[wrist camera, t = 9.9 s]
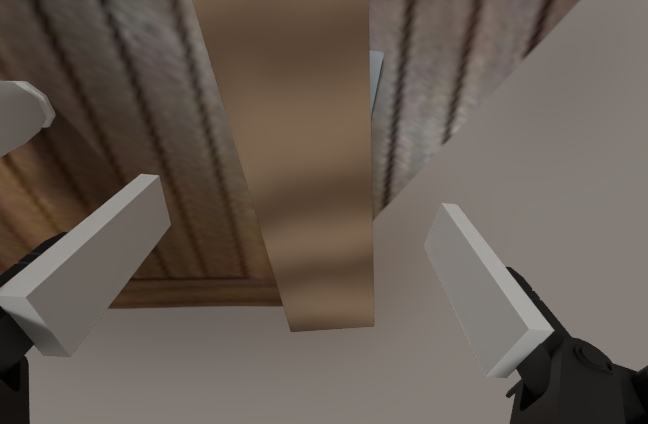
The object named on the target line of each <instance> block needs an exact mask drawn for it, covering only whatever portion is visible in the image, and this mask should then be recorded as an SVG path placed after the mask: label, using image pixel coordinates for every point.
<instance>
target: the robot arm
mask: <svg viewBox="0 0 648 424" xmlns="http://www.w3.org/2000/svg"><path fill="white" fill-rule="evenodd" d="M170 226H171V222H170V218H169V214H168V210H167V206H166V202H165V198H164V194H163V190H162V185H161V181H160V177H159V175H148V174H140V175H139V176H138V177H137V178H135V179H134V180H133V181H132V182H130V183H129V184H128V185H127V186H126V187H124V188H123V189H122V190H121V191H119V192H118V193H117V194H116V195H114V196H113V197H112V198H111V199H109V200H108V201H107V202H106V203H105V204H103V205H102V206H101V207H100V208H98V209H97V210H96V211H95V212H93V213H92V214H91V215H90V216H88V217H87V218H86V219H85V220H84V221H82V222H81V223H80V224H79V225H77V226H76V227H75V228H74V229H72V230H71V231H70V232H63V233H60V234H58V235H56V236H54V237H52V238H50V239H48V240H46V241H44V242H43V243H42V244H40V245H39V246H38V247H37V248H35V249H34V250H33V251H31V254H27V255H26V256H25V257H24V258H22V259H21V260H20V261H19V263H18V264H14V265H13V266H12V267H11V268H9V269H8V270H7V271H5V272H4V273H3V274H2V275H0V424H30V420H29V369H28V368H29V364H28V361H27V358H26V357H25V356H24V355H25V354H26V352H28V350H29V349H30V348H31V347H32V346H33V345H35V347H36V348H37V349H38V350H39V351H40V352H41V353H42V355H44V356H63V357H71V356H72V354H73V353H74V352H75V350H76V349H77V348H78V346H79V345H80V344H81V342H82V341H83V340H84V339H85V337H86V336H87V335H88V333H89V332H90V331H91V329H92V328H93V327H94V325H95V324H96V323H97V321H98V320H99V319H100V318H101V316H102V315H103V314H104V312H105V311H106V310H107V308H108V307H109V306H110V304H111V303H112V302H113V300H114V299H115V298H116V297H117V295H118V294H119V293H120V291H121V290H122V289H123V287H124V286H125V285H126V283H127V282H128V281H129V279H130V278H131V277H132V276H133V274H134V273H135V272H136V270H137V269H138V268H139V266H140V265H141V264H142V262H143V261H144V260H145V258H146V257H147V256H148V254H149V253H150V252H151V251H152V249H153V248H154V247H155V245H156V244H157V243H158V241H159V240H160V239H161V237H162V236H163V235H164V233H165V232H166V231H167V230H168V228H169V227H170ZM424 248H425V251H426V253H427V255H428V257H429V259H430V261H431V263H432V266H433V268H434V270H435V272H436V274H437V276H438V278H439V280H440V283H441V285H442V287H443V289H444V291H445V293H446V295H447V297H448V300H449V302H450V304H451V306H452V308H453V310H454V312H455V314H456V316H457V319H458V321H459V323H460V325H461V327H462V329H463V331H464V333H465V335H466V338H467V340H468V341H469V344H470V346H471V348H472V350H473V352H474V355H475V357H476V359H477V361H478V363H479V365H480V367H481V369H482V371H483V373H484V376H485V377H497V378H507V377H508V376H509V375H510V374H511V373H512V372H513V371H514V370H515V369H517V371H518V372H519V374H520V376H521V378H522V379H521V380H520V381H519V382H518V383H517V384H515V385H514V387H512V388H511V389H510V390H509V391H508V393H507V394H506V397H508V398H510V397H511V396H512V395H513V394H515V398H514V404H513V409H512V414H511V419H510V424H648V366H646V367H645V368H643V369H642V370H640V371H639V372H637V371H634V370H631V369H628V368H625V367H622V366H619V365H616V364H613V363H612V362H611V360H610V359H609V358H608V357H607V356H606V355H605V354H603V353H602V352H601V351H600V350H599V349H597V348H596V347H594V346H593V345H591V344H590V343H588V342H586V341H583V340H581V339H578V338H572V337H571V336H570V334H569V333H568V332H567V331H566V330H565V328H564V327H563V326H562V325H561V323H560V322H559V321H558V320H557V318H556V317H555V316H554V315H553V314H552V312H551V311H550V310H549V309H548V307H547V306H546V305H545V304H544V302H543V301H542V300H540V298H539V296H538V295H537V294H536V293H535V291H532V288H531V286H530V285H529V284H528V283H527V282H526V280H525V279H524V278H523V277H522V276H521V275H519V274H518V273H517V272H516V271H514V270H513V269H512V268H511V267H505V266H504V265H503V264H502V263H501V261H500V260H499V258H498V257H497V256H496V255H495V253H494V252H493V251H492V249H491V248H490V247H489V246H488V244H487V243H486V242H485V240H484V239H483V238H482V237H481V235H480V234H479V233H478V231H477V230H476V229H475V228H474V226H473V225H472V224H471V222H470V221H469V220H468V218H467V217H466V216H465V215H464V213H463V212H462V211H461V209H460V208H459V207H458V206H457V205H456V204H447V203H441V205H440V208H439V210H438V213H437V215H436V217H435V220H434V222H433V224H432V227H431V229H430V231H429V234H428V236H427V239H426V241H425V243H424Z"/></svg>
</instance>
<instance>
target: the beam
mask: <svg viewBox="0 0 648 424" xmlns="http://www.w3.org/2000/svg"><path fill="white" fill-rule="evenodd" d="M192 1H193V4H194V8H195V11H196V14H197V18H198V21H199V25H200V28H201V31H202V35H203V38H204V41H205V45H206V48H207V51H208V55H209V58H210V62H211V65H212V68H213V72H214V75H215V78H216V82H217V85H218V88H219V92H220V95H221V98H222V102H223V105H224V109H225V112H226V115H227V119H228V122H229V125H230V129H231V132H232V135H233V139H234V142H235V145H236V149H237V152H238V156H239V159H240V162H241V166H242V169H243V172H244V176H245V179H246V182H247V186H248V189H249V193H250V196H251V199H252V203H253V206H254V209H255V213H256V216H257V219H258V223H259V226H260V229H261V233H262V236H263V240H264V243H265V246H266V250H267V253H268V256H269V260H270V263H271V266H272V270H273V273H274V276H275V280H276V283H277V287H278V290H279V293H280V297H281V300H282V303H283V307H284V310H285V313H286V317H287V320H288V324H289V327H290V330H291V332H299V331H313V330H328V329H343V328H358V327H373V326H374V277H373V276H374V274H373V217H372V161H371V104H370V47H369V0H192Z"/></svg>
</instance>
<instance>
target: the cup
mask: <svg viewBox="0 0 648 424" xmlns="http://www.w3.org/2000/svg"><path fill="white" fill-rule="evenodd" d="M55 115H56V114H55V112H54V110H53V107H52V105H51V103H50V101H49V99H48V97H47V96H46V95H45V94H44V93H42V92H41V91H39V90H38V89H36V88H35V87H34V86H32V85H31V84H29V83H28V82H27V81H0V158H1V157H2V156H4V155H6V154H7V153H9V152H11V151H12V150H14V149H16V148H18V147H19V146H21V145H23V144H25V143H26V142H27V141H28V140H30V139H31V138H32V137H33V136H35V135H36V134H37V133H38V132H39V131H40V130H41V128H42V127H46V128H47V127H50V125H51V123H52V121H53V119H54V117H55Z"/></svg>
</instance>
